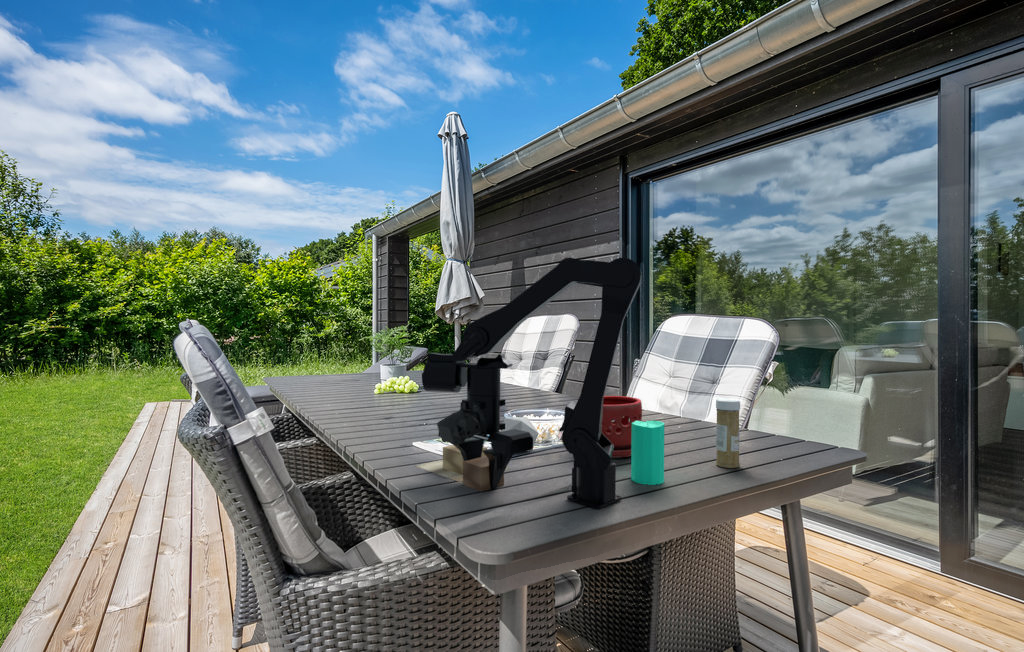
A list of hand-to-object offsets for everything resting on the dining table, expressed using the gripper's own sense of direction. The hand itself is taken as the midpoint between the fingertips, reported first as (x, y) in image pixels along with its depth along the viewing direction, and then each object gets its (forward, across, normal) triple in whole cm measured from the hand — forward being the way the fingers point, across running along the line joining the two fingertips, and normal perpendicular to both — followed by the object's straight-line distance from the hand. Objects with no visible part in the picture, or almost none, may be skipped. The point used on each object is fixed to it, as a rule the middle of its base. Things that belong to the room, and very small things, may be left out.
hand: (483, 484), depth 91 cm
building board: (+1, -11, +4) cm, 12 cm away
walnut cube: (+1, 0, 0) cm, 1 cm away
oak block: (0, -10, +4) cm, 11 cm away
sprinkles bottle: (+1, +22, +46) cm, 51 cm away
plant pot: (+1, 0, +37) cm, 37 cm away
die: (+1, -14, +22) cm, 26 cm away
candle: (+1, +16, +26) cm, 31 cm away
